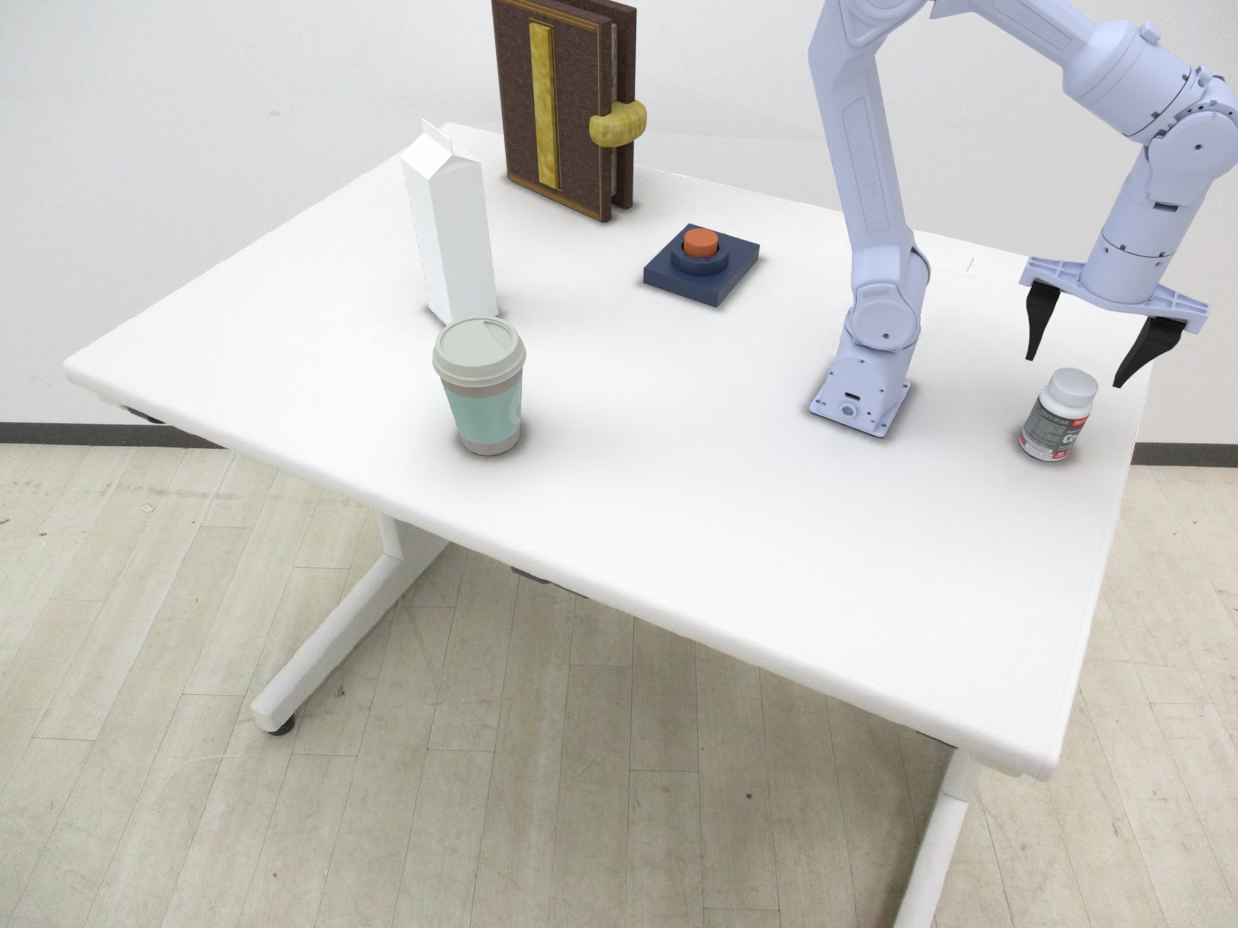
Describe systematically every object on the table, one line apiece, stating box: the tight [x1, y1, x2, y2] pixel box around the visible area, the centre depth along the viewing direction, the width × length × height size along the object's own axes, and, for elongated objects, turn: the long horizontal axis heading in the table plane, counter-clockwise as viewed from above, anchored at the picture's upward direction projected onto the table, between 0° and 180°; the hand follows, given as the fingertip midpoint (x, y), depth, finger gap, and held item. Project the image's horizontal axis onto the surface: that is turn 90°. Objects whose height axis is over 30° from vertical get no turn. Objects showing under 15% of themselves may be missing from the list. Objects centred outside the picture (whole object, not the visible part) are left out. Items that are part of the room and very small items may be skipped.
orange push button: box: [684, 228, 718, 257], centre depth 101 cm, size 4×4×2 cm
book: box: [490, 0, 648, 224], centre depth 109 cm, size 22×8×25 cm, turn 50°
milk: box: [400, 118, 500, 327], centre depth 91 cm, size 6×6×22 cm
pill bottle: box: [1018, 367, 1099, 462], centre depth 81 cm, size 5×5×8 cm
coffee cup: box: [431, 316, 527, 456], centre depth 80 cm, size 8×8×12 cm
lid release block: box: [642, 222, 761, 308], centre depth 104 cm, size 12×10×4 cm
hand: (1073, 368), depth 79 cm, fingers open, 7 cm apart
